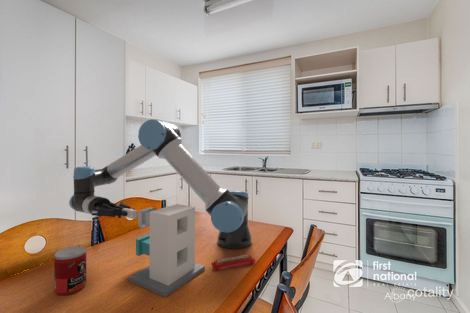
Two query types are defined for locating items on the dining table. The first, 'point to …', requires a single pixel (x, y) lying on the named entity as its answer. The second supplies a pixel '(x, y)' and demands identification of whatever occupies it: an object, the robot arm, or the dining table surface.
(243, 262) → the candy bar
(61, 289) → the canned food
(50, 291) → the dining table surface
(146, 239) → the teal plunger
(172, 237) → the switch block
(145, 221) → the steel plunger
